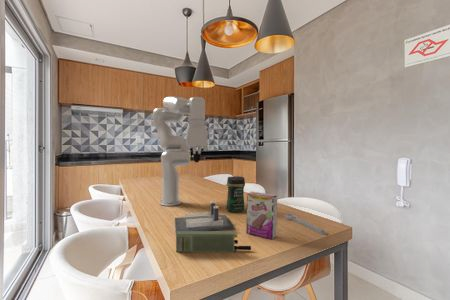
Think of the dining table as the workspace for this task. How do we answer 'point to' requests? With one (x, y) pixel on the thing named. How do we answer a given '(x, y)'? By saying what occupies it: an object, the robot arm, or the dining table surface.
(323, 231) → the adjustable wrench
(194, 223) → the breaker panel
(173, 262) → the dining table surface
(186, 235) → the handheld radio
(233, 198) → the coffee jar
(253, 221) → the candy bar box
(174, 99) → the robot arm
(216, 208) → the handle
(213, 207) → the handle
